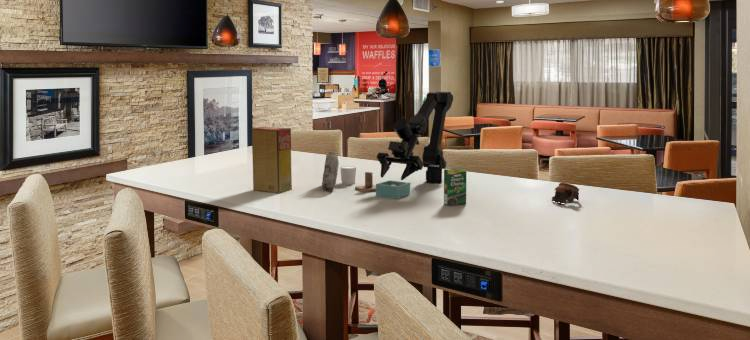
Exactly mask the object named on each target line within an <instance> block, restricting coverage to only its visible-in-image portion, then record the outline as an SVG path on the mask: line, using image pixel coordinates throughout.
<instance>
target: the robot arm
mask: <svg viewBox="0 0 750 340" xmlns="http://www.w3.org/2000/svg"><path fill="white" fill-rule="evenodd" d="M453 102H454V95H453V94H452V93H451V91H435V92H434V91H429V92H428V93H426V97H425V99H424V101H423V102H422V104H421V106H420V108H419V109H418V111H417V113H416V114H415V115H414V116H411V117H410V118H409V120H408V118H407V117H406V116H402V117H401V118H400V119H398V120H397V121H395V122H394V123H393V126H392V128H393V129H394V131H395V133H396V135H397V137H399V139H400V141H389V143H388V144H389V145H388V148H387V150H388V151H391V155H392V156H390V154H389V153H388V152H382V151H381V152H378V153H377V155H376V159H377V161H378V162H379V164H380V168H381V169H380V178H384V177H385V175H386V174H387V172H388V171H389V170H390V168H391V165H392V164H393V163H395V164H396V163H398V164H403V165H405V168H404V170H403V172H402V174H401V177H400V180H401V181H404V180H405V179H406V178H408V177H409V176H411V175H413V173H415V172H418V171H422V170H423V168H426V170H425V181H426V183H432V184H433V183H437V184H442V183H443V170H444V169H447V161H446V159H445V157H444V150H443V148H442V140H443V135H444V134H443V133H444V127H445V123H446V117H447V113H448V111H450V109H451V108H452V105H453ZM433 111H434V114H433V115H434V116H433V121H432V126H431V132H430V138H429V143H428V144H427V145H425V146H424V147H423V153H422V156H421V157H422V159H421V157H420V156H419V155H414V148H415V147H416V146H417V145H420V141H419V138H418V137H417V136H423V135H425V133H426V132H427V131H426V130H427V128H428V123H427V122H428V119H429V118H430V116H431V115H432V112H433Z"/></svg>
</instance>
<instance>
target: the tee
mask: <svg viewBox="0 0 750 340" xmlns="http://www.w3.org/2000/svg"><path fill="white" fill-rule="evenodd" d="M373 178H374V177H373V172H372V171H367V172H366V171H365V172H364V185H358V186H357V185H356V186H355V189H354V190H357V191H360V192H363V193H371V192H373V193H374V192H376V184H375V185H374V184H373V180H374V179H373Z"/></svg>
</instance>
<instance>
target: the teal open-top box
mask: <svg viewBox="0 0 750 340" xmlns="http://www.w3.org/2000/svg"><path fill="white" fill-rule="evenodd" d="M390 185H396V186H390ZM375 186H376V191H375V196H377V197H384V198H388V199H389V198H390V199H397V200H398V199H400V198H403V197H407V196H409V195H411V182H406V181H399V180H390V179H389V180H386V181H382V182H378V183H375Z"/></svg>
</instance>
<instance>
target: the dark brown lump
mask: <svg viewBox="0 0 750 340" xmlns="http://www.w3.org/2000/svg"><path fill="white" fill-rule="evenodd" d="M579 196H580V188H578V187H577V186H576V185H574V184H571V183H567V182H560V183H558V186H556V187H555V188H554V195H553V196H551V201H552V200H553V201H555V202H554V203H556V202H560V203H565V204H566V201H567V203H568V204H571V203H574V202H575V199H577V200H578V201H580V199H579V198H580V197H579Z"/></svg>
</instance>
